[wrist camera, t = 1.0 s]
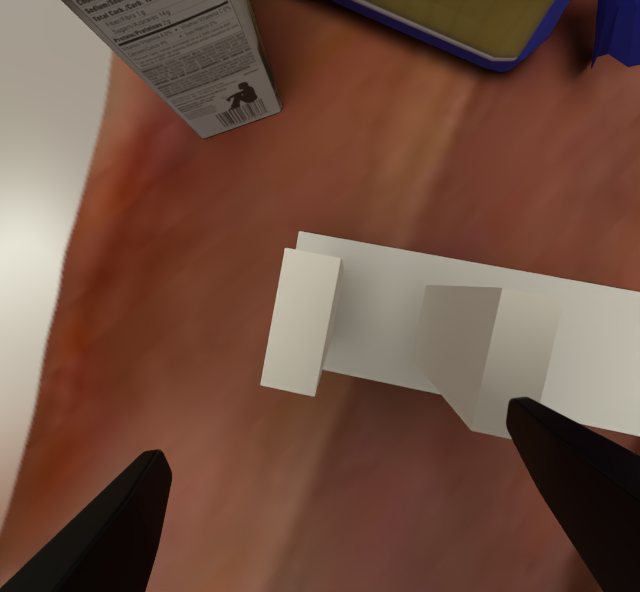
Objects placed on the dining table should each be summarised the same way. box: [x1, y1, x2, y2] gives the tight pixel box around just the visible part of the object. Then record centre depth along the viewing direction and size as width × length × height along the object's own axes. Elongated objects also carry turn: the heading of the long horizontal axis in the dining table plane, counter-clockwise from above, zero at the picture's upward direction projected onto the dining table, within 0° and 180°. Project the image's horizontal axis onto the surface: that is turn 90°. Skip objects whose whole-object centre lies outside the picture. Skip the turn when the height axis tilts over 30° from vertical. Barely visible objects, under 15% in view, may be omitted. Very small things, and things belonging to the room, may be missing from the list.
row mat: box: [296, 231, 640, 436], centre depth 22 cm, size 9×27×1 cm, turn 79°
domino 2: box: [411, 285, 564, 439], centre depth 17 cm, size 2×5×11 cm, turn 169°
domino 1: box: [260, 248, 344, 397], centre depth 17 cm, size 2×5×11 cm, turn 169°
